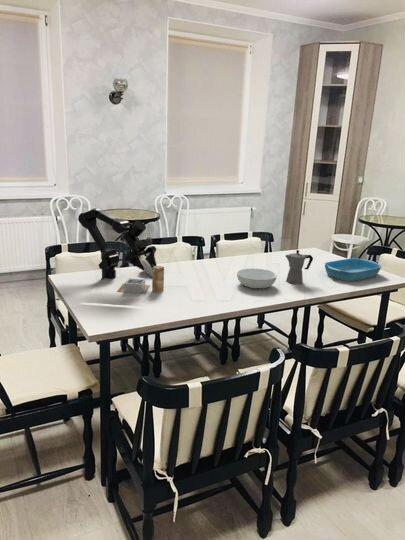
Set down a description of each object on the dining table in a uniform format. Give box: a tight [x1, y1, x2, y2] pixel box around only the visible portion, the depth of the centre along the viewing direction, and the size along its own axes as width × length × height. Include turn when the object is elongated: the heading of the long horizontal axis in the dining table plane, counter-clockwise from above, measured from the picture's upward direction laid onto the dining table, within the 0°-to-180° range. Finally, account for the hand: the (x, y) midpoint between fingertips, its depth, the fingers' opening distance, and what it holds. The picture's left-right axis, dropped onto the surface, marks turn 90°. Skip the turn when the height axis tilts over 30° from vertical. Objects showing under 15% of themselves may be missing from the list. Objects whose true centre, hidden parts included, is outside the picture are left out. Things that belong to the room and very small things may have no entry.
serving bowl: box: [236, 267, 278, 289], centre depth 234 cm, size 21×21×7 cm
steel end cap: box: [123, 278, 146, 295], centre depth 215 cm, size 8×8×4 cm
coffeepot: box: [285, 249, 314, 285], centre depth 243 cm, size 15×9×18 cm, turn 92°
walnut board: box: [116, 283, 151, 295], centre depth 218 cm, size 14×13×1 cm
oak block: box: [151, 265, 165, 293], centre depth 215 cm, size 4×4×13 cm
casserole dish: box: [324, 257, 382, 282], centre depth 262 cm, size 37×22×7 cm, turn 124°
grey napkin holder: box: [140, 257, 155, 278], centre depth 245 cm, size 17×5×10 cm, turn 24°
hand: (150, 267), depth 217 cm, fingers open, 9 cm apart
